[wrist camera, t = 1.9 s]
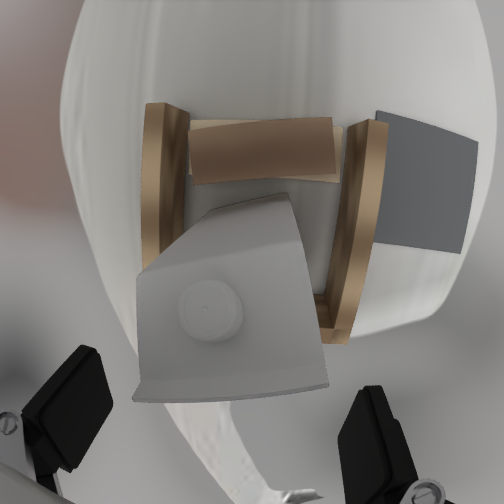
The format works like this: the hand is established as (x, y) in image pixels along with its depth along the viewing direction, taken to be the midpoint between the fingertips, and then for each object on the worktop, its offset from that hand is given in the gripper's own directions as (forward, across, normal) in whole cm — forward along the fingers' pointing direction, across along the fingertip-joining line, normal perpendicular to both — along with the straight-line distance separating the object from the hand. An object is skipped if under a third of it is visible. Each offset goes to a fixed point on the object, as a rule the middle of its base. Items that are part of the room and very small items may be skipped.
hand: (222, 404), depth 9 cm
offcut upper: (+16, 0, -9) cm, 18 cm away
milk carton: (+19, 0, -1) cm, 19 cm away
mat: (+19, -15, -8) cm, 25 cm away
